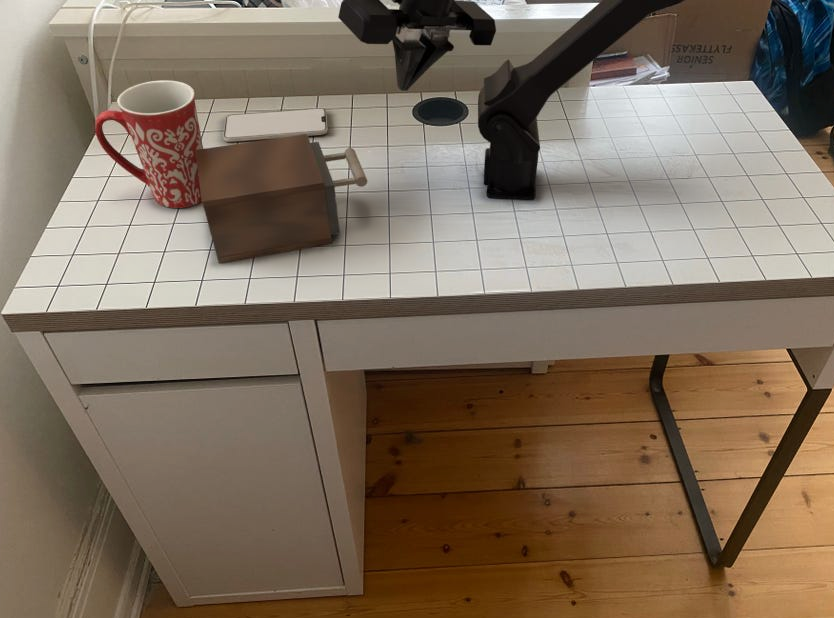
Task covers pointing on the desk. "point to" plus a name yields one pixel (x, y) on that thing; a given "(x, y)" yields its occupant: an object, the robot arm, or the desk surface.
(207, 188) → the cabinet
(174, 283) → the desk surface
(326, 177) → the drawer
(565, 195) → the desk surface
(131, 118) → the mug
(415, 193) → the desk surface
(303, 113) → the smartphone
